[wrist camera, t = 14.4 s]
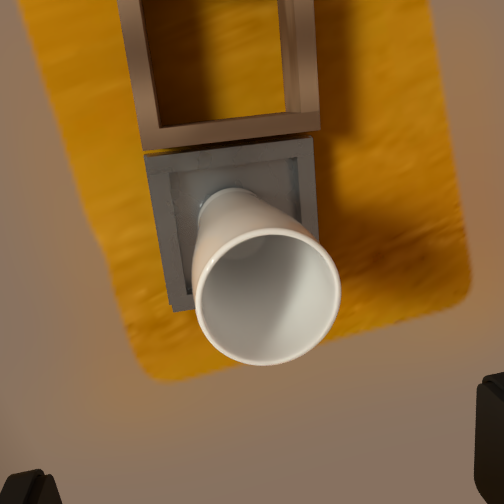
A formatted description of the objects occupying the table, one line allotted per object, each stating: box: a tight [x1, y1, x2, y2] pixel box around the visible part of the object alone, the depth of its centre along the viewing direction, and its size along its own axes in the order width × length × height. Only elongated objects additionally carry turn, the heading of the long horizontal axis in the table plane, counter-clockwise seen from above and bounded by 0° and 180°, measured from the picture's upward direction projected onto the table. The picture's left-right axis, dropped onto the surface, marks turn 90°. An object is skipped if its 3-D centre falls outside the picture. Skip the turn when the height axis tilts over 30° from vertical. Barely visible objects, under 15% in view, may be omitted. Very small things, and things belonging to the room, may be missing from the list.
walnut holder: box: [117, 0, 321, 151], centre depth 30 cm, size 11×11×4 cm
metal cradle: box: [144, 135, 319, 312], centre depth 35 cm, size 11×12×2 cm
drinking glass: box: [191, 188, 341, 366], centre depth 28 cm, size 7×7×15 cm
